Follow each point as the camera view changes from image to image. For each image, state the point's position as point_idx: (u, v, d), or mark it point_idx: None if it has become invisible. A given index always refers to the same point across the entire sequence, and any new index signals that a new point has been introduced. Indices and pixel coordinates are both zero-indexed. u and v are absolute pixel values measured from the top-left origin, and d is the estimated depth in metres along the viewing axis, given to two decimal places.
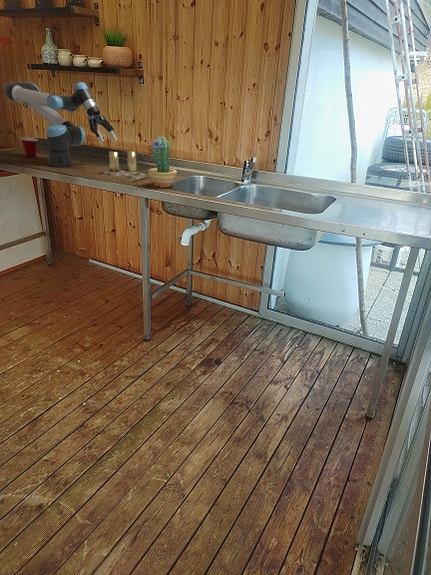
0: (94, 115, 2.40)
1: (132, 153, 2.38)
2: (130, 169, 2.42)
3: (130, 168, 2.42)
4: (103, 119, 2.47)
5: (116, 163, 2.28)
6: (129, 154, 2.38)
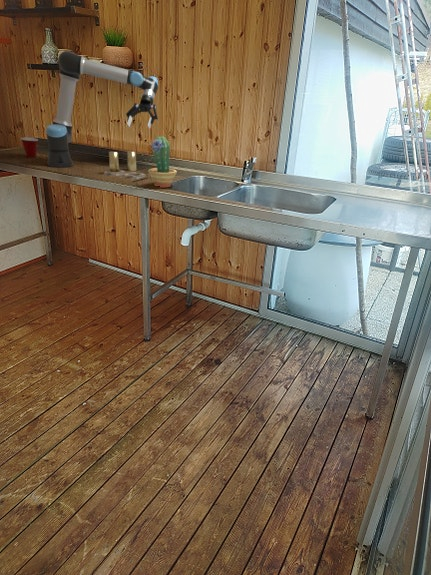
0: None
1: (132, 153, 2.38)
2: (130, 169, 2.42)
3: (130, 168, 2.42)
4: (136, 107, 2.49)
5: (116, 163, 2.28)
6: (129, 154, 2.38)
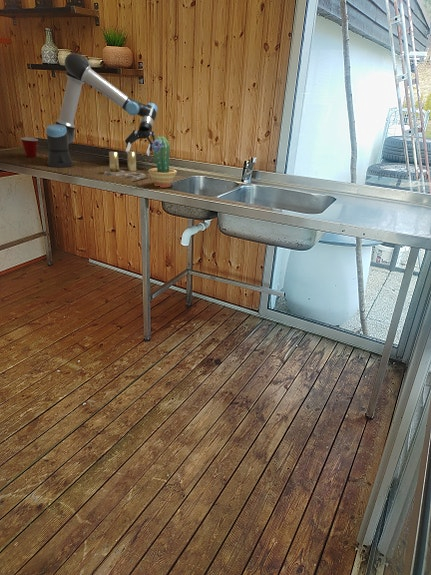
0: None
1: (132, 153, 2.38)
2: (130, 169, 2.42)
3: (130, 168, 2.42)
4: (135, 134, 2.51)
5: (116, 163, 2.28)
6: (129, 154, 2.38)
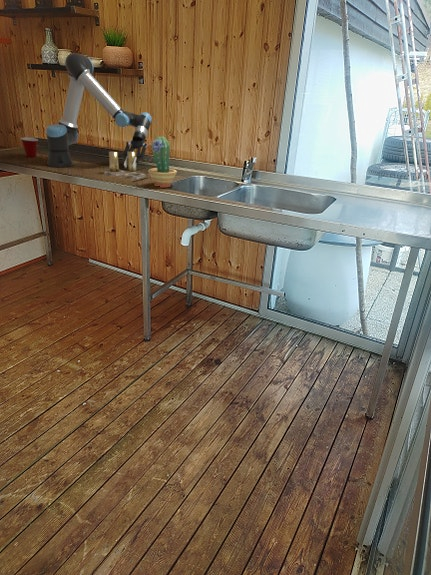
0: None
1: (132, 153, 2.38)
2: (130, 169, 2.42)
3: (131, 168, 2.42)
4: (129, 145, 2.46)
5: (116, 163, 2.28)
6: (129, 154, 2.38)
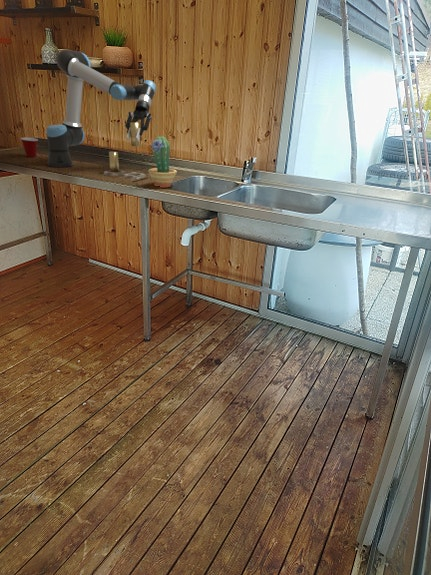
0: None
1: (135, 124, 2.17)
2: (133, 142, 2.21)
3: (134, 141, 2.20)
4: (132, 116, 2.25)
5: (116, 163, 2.28)
6: (132, 125, 2.17)
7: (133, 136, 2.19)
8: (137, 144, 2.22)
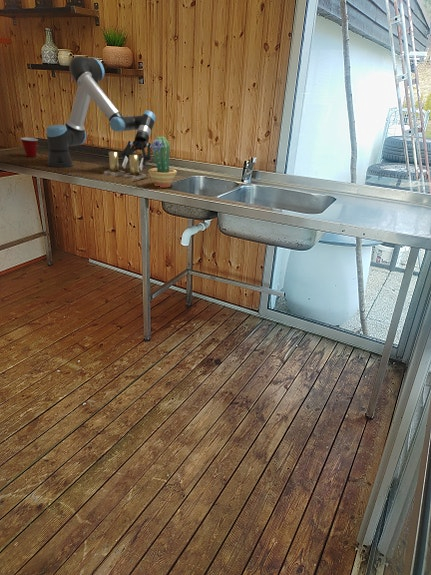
0: None
1: (134, 156, 2.20)
2: (132, 174, 2.24)
3: (133, 173, 2.24)
4: (131, 145, 2.28)
5: (116, 163, 2.28)
6: (131, 157, 2.20)
7: (132, 168, 2.23)
8: None
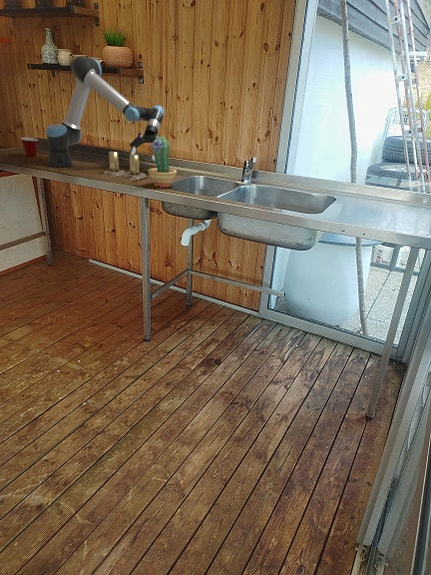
0: None
1: (135, 156, 2.20)
2: (132, 174, 2.24)
3: (133, 173, 2.24)
4: (140, 138, 2.38)
5: (116, 163, 2.28)
6: (131, 157, 2.20)
7: (132, 168, 2.23)
8: None
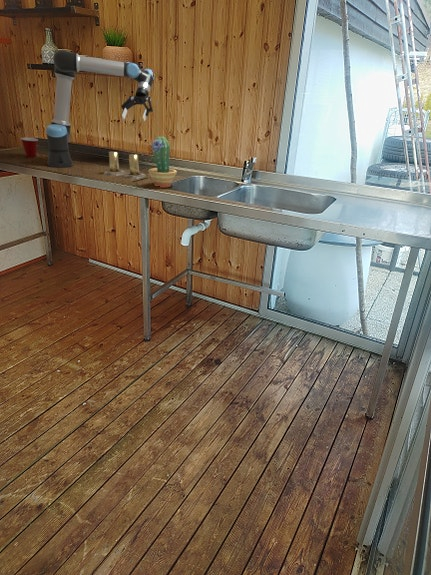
0: None
1: (134, 156, 2.20)
2: (132, 173, 2.24)
3: (133, 172, 2.24)
4: (131, 100, 2.49)
5: (116, 163, 2.28)
6: (131, 157, 2.20)
7: (132, 168, 2.23)
8: None
